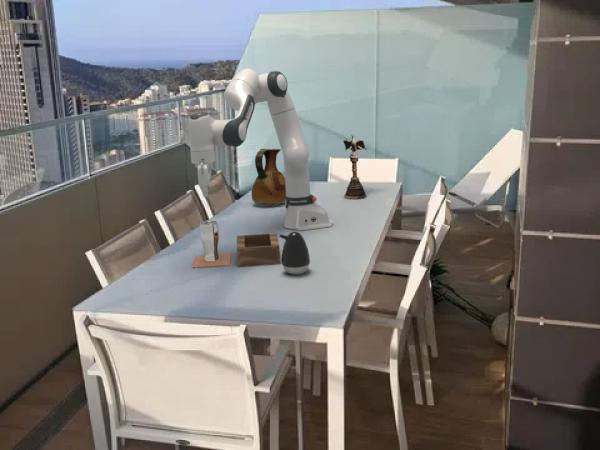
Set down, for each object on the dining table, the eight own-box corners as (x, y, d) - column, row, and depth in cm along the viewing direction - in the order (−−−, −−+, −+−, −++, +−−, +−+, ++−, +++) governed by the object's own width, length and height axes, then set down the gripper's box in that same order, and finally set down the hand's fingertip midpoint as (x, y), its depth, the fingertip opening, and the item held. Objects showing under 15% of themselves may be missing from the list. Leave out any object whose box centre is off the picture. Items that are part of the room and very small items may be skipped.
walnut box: (238, 252, 249) (236, 235, 248) (277, 249, 251) (276, 232, 249) (237, 266, 232) (236, 248, 230) (280, 263, 233) (279, 245, 231)
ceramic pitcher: (296, 201, 333) (293, 146, 325) (275, 210, 316) (271, 151, 309) (266, 198, 343) (263, 144, 335) (244, 206, 327) (240, 150, 319)
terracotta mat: (230, 254, 247) (230, 253, 247) (229, 265, 234) (229, 264, 234) (195, 257, 246) (195, 255, 246) (192, 268, 233) (192, 267, 233)
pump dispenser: (282, 268, 228) (280, 228, 224) (310, 267, 228) (308, 227, 224) (280, 277, 218) (278, 236, 214) (310, 276, 218) (308, 235, 214)
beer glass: (224, 257, 242) (220, 220, 238) (215, 263, 236) (212, 225, 232) (208, 256, 244) (204, 219, 240) (199, 262, 238) (196, 224, 234)
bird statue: (346, 192, 348) (344, 130, 339) (369, 193, 345) (367, 130, 335) (339, 199, 333) (337, 134, 324) (363, 199, 329) (361, 133, 320)
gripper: (210, 161, 220) (213, 199, 223) (212, 153, 239) (215, 188, 243) (192, 162, 219) (196, 200, 223) (196, 154, 239) (199, 189, 242)
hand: (206, 194), depth 233 cm, fingers open, 8 cm apart
